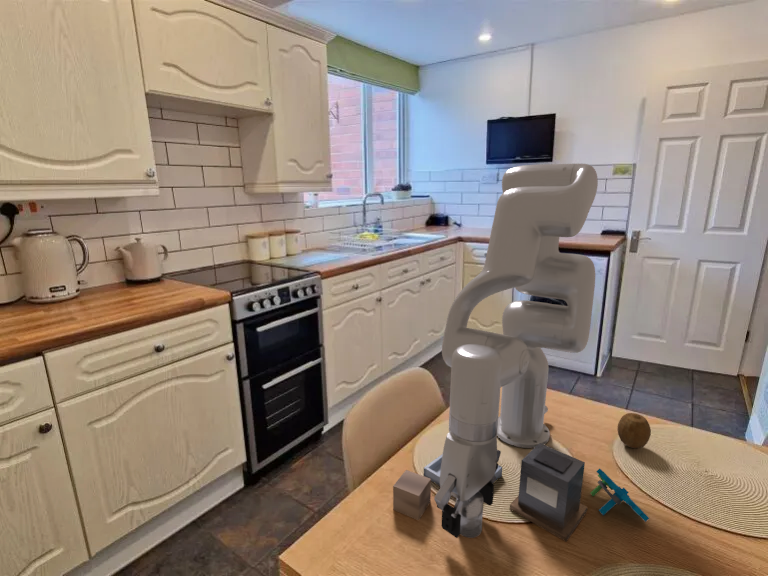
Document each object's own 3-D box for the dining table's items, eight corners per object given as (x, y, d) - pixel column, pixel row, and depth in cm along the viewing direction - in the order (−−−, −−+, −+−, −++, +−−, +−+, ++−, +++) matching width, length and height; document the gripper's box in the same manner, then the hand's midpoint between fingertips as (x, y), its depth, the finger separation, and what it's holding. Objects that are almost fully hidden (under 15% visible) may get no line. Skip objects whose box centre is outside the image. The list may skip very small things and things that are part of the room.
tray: (456, 451, 90) (456, 443, 90) (501, 475, 83) (502, 466, 82) (423, 476, 83) (423, 467, 82) (470, 505, 75) (471, 495, 75)
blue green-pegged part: (664, 528, 68) (622, 487, 67) (637, 552, 68) (595, 511, 68) (625, 489, 79) (589, 453, 78) (602, 509, 79) (566, 474, 79)
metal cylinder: (464, 513, 73) (466, 483, 72) (486, 527, 70) (488, 496, 69) (449, 527, 70) (451, 497, 69) (472, 542, 67) (473, 511, 66)
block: (406, 492, 79) (406, 469, 77) (430, 502, 76) (430, 478, 75) (393, 510, 74) (393, 485, 73) (418, 520, 72) (418, 496, 71)
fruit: (652, 448, 91) (658, 415, 89) (640, 459, 88) (645, 425, 86) (623, 435, 96) (627, 403, 94) (610, 445, 92) (614, 412, 90)
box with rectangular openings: (532, 484, 80) (537, 436, 78) (586, 511, 74) (593, 460, 71) (509, 509, 74) (513, 458, 72) (566, 541, 67) (572, 487, 65)
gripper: (482, 396, 74) (477, 480, 78) (419, 435, 62) (417, 532, 66) (521, 411, 69) (514, 500, 73) (461, 457, 57) (456, 561, 61)
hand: (467, 515), depth 69 cm, fingers open, 9 cm apart
